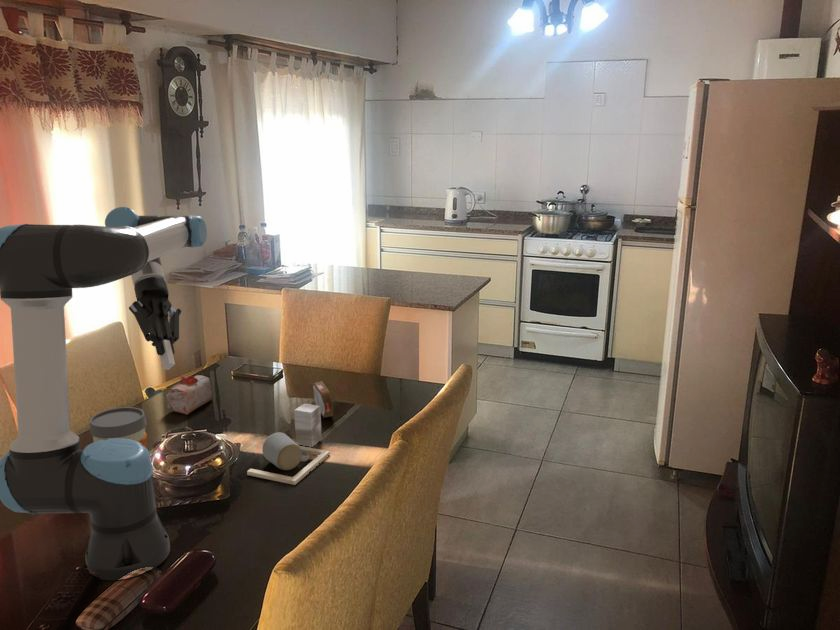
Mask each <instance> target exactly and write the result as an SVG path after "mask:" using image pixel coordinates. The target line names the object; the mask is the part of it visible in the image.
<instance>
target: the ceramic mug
mask: <svg viewBox="0 0 840 630" xmlns="http://www.w3.org/2000/svg"><path fill="white" fill-rule="evenodd" d="M299 446H300V445H299ZM299 446H298V444H297V443H296V441H294V440H293V439H292V438H291V437H290V436H288V435H287V434H286V433H284V432H280V431H279V432H278V431H277V432H274V433H271V434H270V435H269V436H268V437H266V439H265V440H264V441H263V443H262V455H263V456H264V457H263V458H265V459H266V460H267V461H269V462H270V463H271V464H273V465H274V466H275V467H276V468H277V469H279V470H282V471H291V470H293V469H295V468H296V467H297V466H298V465H299V464H300V462H307V461H309V457H310V454H308V453H307V452H305V451H304V450H301V449H300V447H299Z"/></svg>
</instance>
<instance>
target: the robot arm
mask: <svg viewBox="0 0 840 630" xmlns="http://www.w3.org/2000/svg"><path fill="white" fill-rule="evenodd" d="M104 225H105V226H103V225H102V226H101V225H92V224H91V225H90V224H29V223H22V224H13V225H5V226H2V227H0V300H1V301H2V302H3V303H4V304H6V306H7V307H9V309H10V316H11V317H10V318H11V336H12V337H11V338H12V348H13V349H12V350H13V351H12V353H13V355H12V356H13V368H14V369H13V370H14V371H13V372H14V383H15V384H14V385H15V386H14V387H15V389H14V390H15V401H16V402H15V404H16V418H17V420H16V421H17V423H16V424H17V437H16V438H15V439H14V440H13V441H12V442H11V443H10V445H9V451H8V452H6V453H5V454H4V455H3V456H2V458H1V459H0V501H1V503H2V504H3V505H4V506H5V507H6V509H7V508H8V509H9V510H11V512H14V513H25V514H31V515H40V514H89V519H90V520H89V521H90V525H91V529H90V530H91V531H90V534H89V539H88V546H87V549H86V551H85V555H84V557H85V559H84V560H85V566H86V565H87V566H88V567H89V568H90V569H93V570H95V571H97V572H98V574H99V577H100V579H99V580H103V581H119V580H118V579H120V578H122V577H123V576H125V575H127V574H128V573H130V572H132V571H134V570H137V569H140V568H145V567H153V568H154V569H156V568H157V567H159V566H160V565H162V563H163V562H164V561H165V560H166V559H167V558H168V557H169V555H170V552H171V544H170V536H169V535H168V532H167V531H166V529H165V527H164V525H163V523H162V521H161V519H160V517H159V515H158V513H157V512H158V511H157V504H156V503H157V502H156V495H155V483H154V474H153V473H154V467H153V464H152V460H151V455H150V454H151V453H150V451H149V450H148V448H147V446H146V447H145V446H144V445H142V444H141V443H139V442H137V441H134V440H131V439H124V438H110V439H107V440H99V441H96V442H93V441H92V442H91V443H90V444H88V445H86V446H85V447H84V448H83V449H81V445H80V444H81V443H80V441H81V440H80V436H78V434H76V433H75V432H73V431H72V430H71V421H70V420H71V419H70V415H71V414H70V400H69V381H68V361H67V341H66V340H67V339H66V322H65V320H66V319H65V306H66V304H67V303H68V302H69V301H71V299H72V298H73V289H87V288H93V287H94V288H95V287H98V286H99V287H100V286H103V285H106V284H107V285H108V284H109V283H113V282H116V281H119V280H121V279H124V278H126V277H130V276H131V279H132V284H133V288H134V294H135V299H136V300H134V301H133V302H132V303H131V305H130V306H128V309H129V311H130V312H131V313H132V314H133V316H134V317H135V320H136V322H137V324H138V326H139V328H140V331H141V332H142V335H143V337H144V339H145V341H147V342H152V343H151V346H152V347H154V348H155V350H156V354H157V355H158V356H159V358H160V362H161V366H162V370H170V369H171V368H172V367H174V366H175V365H176V361H175V359H174V354H175V348H174V344H175V343H176V342H178V340H179V339H180V315H181V313H182V309H181V308H177V309H176V308H175V307H173V306H172V302H171V301H170V300H169V296H170V293H169V290H168V285H167V282H166V277H165V273H164V269H163V265H162V262H161V257H163V256H165V255H168V254H170V253H173V252H175V251H178V250H181V249H183V248H201V247H203V246H204V245H205V243H206V241H207V235H208V231H207V223H206V221H205V219H204V217H202V216H200V215H190V214H187V215H138V214H137V212H136V211H135V210H133V209H132V208H130V207H128V206H118V207H115V208H114V209H112V210H110V211H109V212H108V213H107V215H106V216H105V220H104Z"/></svg>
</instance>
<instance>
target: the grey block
mask: <svg viewBox="0 0 840 630" xmlns="http://www.w3.org/2000/svg"><path fill="white" fill-rule="evenodd" d="M293 411H294V430H295V432H294V433H295V443H297V444H298V445H299V446H300V445H303V446H304V447H305V446H309V448H311V447H313V446H314V445H315V444H316V445H318V444H317V443H318V442H319V441H320V442H321V441H322V439H323V438H322V417H321V416H322V415H321V412H320V406H317V405H316V404H310V403H303V404H301V405H299V406H298V407H297V408H295V409H294V410H293ZM320 442H319V443H320ZM316 445H315V446H316ZM315 446H314V447H315ZM314 447H313V448H314Z"/></svg>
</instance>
